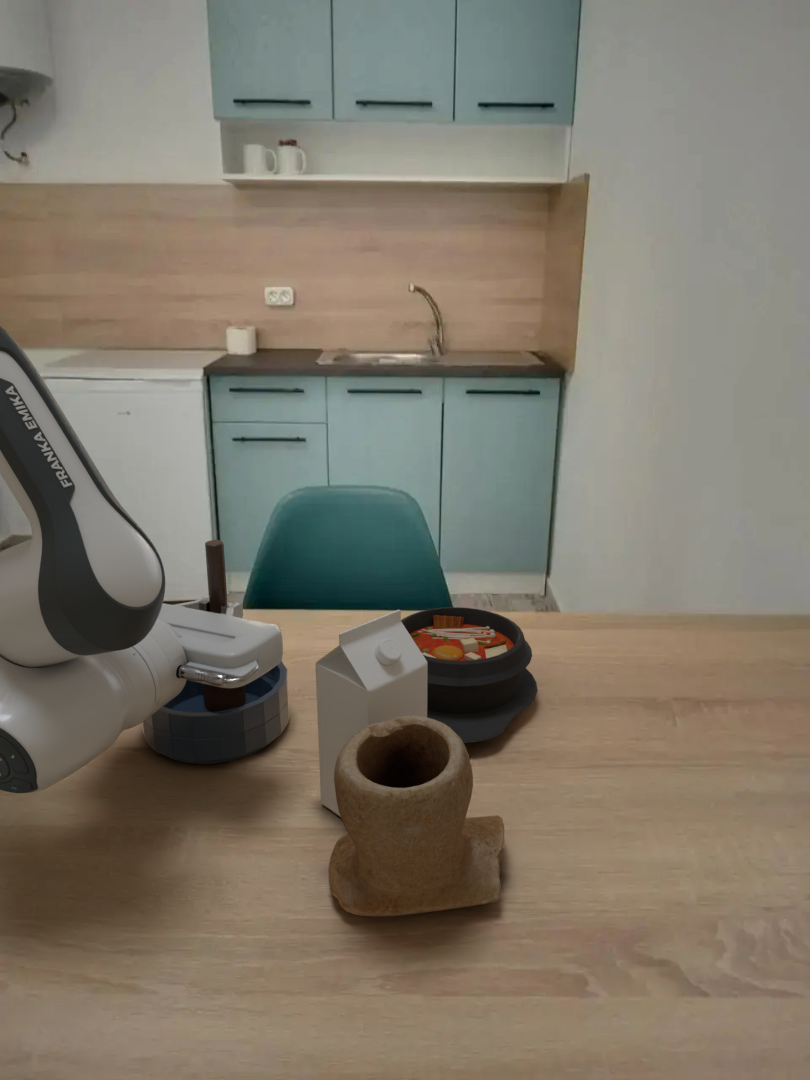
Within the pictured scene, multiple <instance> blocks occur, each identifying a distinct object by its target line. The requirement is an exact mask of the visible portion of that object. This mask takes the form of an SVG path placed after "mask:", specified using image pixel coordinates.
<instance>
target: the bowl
mask: <svg viewBox="0 0 810 1080" xmlns="http://www.w3.org/2000/svg"><path fill="white" fill-rule="evenodd" d="M288 672H289V671H288V668H287V667H286V665H285V663H284V662H283V660H281V662H280V663H279V664H278V665H276V666H275V667H274V668H272V669H271V670H270V671H268V672H267V673H265V674H264V675H262V676H260V677H259V678H257V679H256V680H254V681H252V682H250V683H248V684H246V685H245V689H246V703H245V705H243V706H240V707H237V708H232V709H227V710H222V711H218V712H210V711H208V710H207V709H206V708H205V707H204V700H203V687H202V683H199V682H194V681H190V680H186V683H185V686H184V688H183V690H182V691H181V692H180V693H179V694H178V695H177V696H176V697H175V698H173V699H172V700H171V701H169V702H168V703H167V704H165V705H164V706H163V707H162V708H160V709H159V710H158V711H156V712H155V713H154V714H153V715H151V716H150V717H149V718H147V719H146V720H145V721H143V722H142V723H141V728H142V734H143V739H144V741H145V743H146V744H147V745H148V746H149V747H151V748H152V750H154V751H155V752H156V753H158V754H161V755H163V756H164V757H167V758H169V759H172V760H174V761H177V762H181V763H187V764H196V765H197V764H198V765H209V764H221V763H227V762H231V761H236V760H240V759H242V758H246V757H247V756H251V755H252V754H255V753H258V752H260V751H261V750H262V749H265V748H266V747H267V746H269V745H270V744H271V743H273V742H274V740H276V739H277V738H278V737H279V736H281V734H282V733H283V731H284V730H285V729H286V727H287V725H288V724H289V722H290V694H289V693H290V692H289V676H288V674H289V673H288Z"/></svg>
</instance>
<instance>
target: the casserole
mask: <svg viewBox="0 0 810 1080" xmlns="http://www.w3.org/2000/svg"><path fill="white" fill-rule="evenodd" d="M401 622H402V623H403V625H404V626H405V628H406V630H407V631H408V633H409V634H410V636H411V637H412V639H413V640H414V642H415V644H416V645H417V647H418V648H419V650H420V651H421V653H422V654H423V656H424V657H425V659H426V661H427V718H430V719H434V720H436V721H439V722H442V723H444V724H446V725H447V726H448V727H450V728H451V729H452V730H453V731H454V732H455V733H456V734H457V735H458V736H459V737H460V738H461V739H462V741H463V743H464V744H466V743H467V744H468V743H478V742H479V743H480V742H484V741H489V740H492V739H494V738H496V737H498V736H501V734H502V733H503V732H504V731H505V730H506V729H507V728H508V727H509V725H510V724H511V722H512V721H513V719H515V718H516V717H517V716H519V715H520V714H521V713H522V712H524V711H525V710H526V709H527V708H529V707H530V706H531V705H532V704H533V702H534V701H535V699H536V697H537V693H538V684H537V681H536V679H535V677H534V675H533V673H531V672H530V671H529V670H528V669H527V667H528V666H529V665H530V664H531V661H532V658H533V651H532V650H533V649H532V648H531V646H530V644H529V642H528V641H527V640H526V638H525V635H524V632H523V631H522V629H521V627H520V626H519V625H518V624H517V623H515V622H514V621H513V620H511V619H510V618H508V617H506V616H504V615H502V614H499V613H495V612H492V611H489V610H484V609H478V608H473V607H472V608H471V607H459V606H457V607H455V606H452V607H451V606H450V607H436V608H430V609H429V608H428V609H424V610H420V611H418V612H415V613H412V614H409V615H408V616H406V617H404V618H401Z"/></svg>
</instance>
